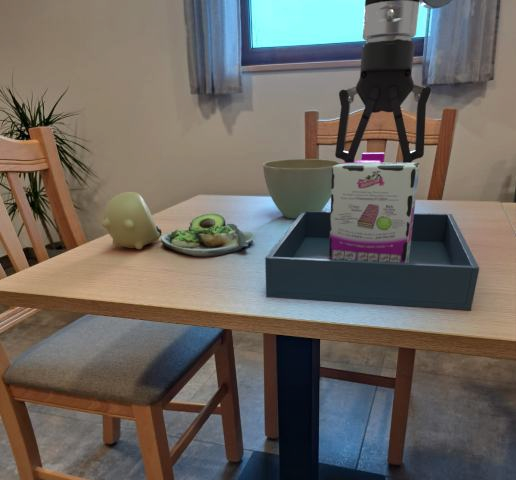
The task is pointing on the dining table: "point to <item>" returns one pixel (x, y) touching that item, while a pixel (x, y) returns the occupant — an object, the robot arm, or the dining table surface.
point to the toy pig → (130, 221)
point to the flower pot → (299, 184)
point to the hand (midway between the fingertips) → (374, 202)
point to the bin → (375, 267)
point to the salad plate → (207, 237)
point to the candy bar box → (372, 211)
